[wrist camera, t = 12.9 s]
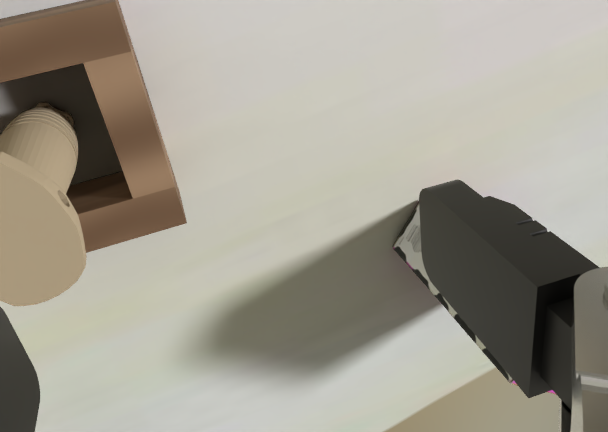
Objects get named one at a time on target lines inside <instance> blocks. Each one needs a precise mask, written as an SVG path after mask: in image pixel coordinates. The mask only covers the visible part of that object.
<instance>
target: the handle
mask: <svg viewBox="0 0 608 432" xmlns="http://www.w3.org/2000/svg"><path fill="white" fill-rule="evenodd" d="M77 159H78V140H77V135H76V132H75V129H74V120H73V118H72V116H71V115H70V114H69V113H68V112H63V111H60V110H57V109H55V108H53V107H52V106H51V105H49V103H48V102H41V103H39V104H37V106H36V107H35V108H32V109H29V110H27V111H24V112H22V113H21V114H19V115H18V116H17V117H15V118H14V119H13V120H12V121H11V122H10V123H9V124H8V125H7V127H6V128H5V129H4V131H3V132H2V134H1V135H0V301H3V302H5V303H8V304H10V305H13V306H27V305H34V304H38V303H41V302H44V301H47V300H50V299H52V298H54V297H56V296H58V295H60V294H61V293H63V292H64V291H66V290H67V289H69V288H70V287H71V286H72V285H73V284H74V283H75V282H76V281H77V280H78V279H79V277H80V276H81V274H82V272H83V270H84V268H85V266H86V250H85V243H84V238H83V233H82V229H81V224H80V221H79V217H78V214H77V212H76V211H75V209H74V207H73V205H72V203H71V202H70V200H69V198H68V197H67V195H66V193H67V190H68V188H69V185H70V183H71V180H72V178H73V175H74V173H75V169H76V165H77Z"/></svg>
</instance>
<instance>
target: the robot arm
mask: <svg viewBox="0 0 608 432" xmlns="http://www.w3.org/2000/svg"><path fill="white" fill-rule="evenodd" d="M419 210H420V231H421V252H422V260H423V264H424V268H425V270H426V273H427V275H428V277H429V279H430V281H431V282H432V284H433V285H434V286H435V288H436V289H437V290H438V291H439V292H440V293H441V295H442V296H443V297H444V298H445V299H446V301H447V302H448V303H449V304H450V305H451V307H452V308H453V309H454V310H455V311H456V312H457V314H458V315H459V316H460V317H461V318H462V320H463V321H464V322H465V323H466V324H467V326H468V327H469V328H470V329H471V330H472V331H473V333H474V334H475V335H476V336H477V337H478V339H479V340H480V341H481V342H482V343H483V345H484V346H485V347H486V348H487V349H488V350H489V352H490V353H491V354H492V355H493V356H494V358H495V359H496V360H497V361H498V362H499V364H500V365H501V366H502V367H503V368H504V370H505V371H506V372H507V373H508V374H509V375H510V377H511V378H512V379H513V380H514V381H515V383H516V384H517V385H518V386H519V387H520V388H521V390H522V391H523V392H524V393H525V394H526V396H527V397H528V398H531V397H533V396H536V395H539V394H542V393H545V392H548V391H550V390H553V391H554V392H555V393H556V394H557V395H558V396H559V398H560V399H561V402H560V410H559V432H608V267H602V268H599V267H598V266H597V265H595V264H594V263H593V262H591V261H590V260H589V259H587V258H586V257H584V256H583V255H582V254H580V253H579V252H578V251H576V250H575V249H574V248H572V247H571V246H570V245H568V244H567V243H565V242H564V241H563V240H561V239H560V238H559V237H557V236H556V235H555V234H553V233H552V232H551V231H550V232H547V229H546V228H545V227H544V226H542V225H541V224H540V223H538V222H537V221H536V220H535V221H533V220H532V218H531V217H530V216H529V215H527V214H526V213H525V212H523V211H522V210H521V209H519V208H518V207H517V206H515V205H513V204H511V203H508V202H505V201H502V200H499V199H496V198H493V197H491V196H488V197H485V198H483V197H482V196H481V195H479V194H478V193H477V192H475V191H474V190H473V189H472V188H470V187H469V186H468V185H466V184H465V183H464V182H462V181H461V180H454V181H450V182H447V183H443V184H439V185H436V186H432V187H428V188H425V189H422V191H421V192H420V196H419ZM39 403H40V388H39V382H38V377H37V374H36V371H35V369H34V366H33V364H32V363H31V361H30V359H29V357H28V355H27V353H26V351H25V349H24V347H23V346H22V344H21V342H20V340H19V338H18V336H17V334H16V332H15V330H14V329H13V327H12V325H11V323H10V321H9V319H8V317H7V315H6V314H5V312H4V311H3V309H2V308H1V307H0V432H35V426H36V420H37V415H38V409H39Z"/></svg>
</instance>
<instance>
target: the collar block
mask: <svg viewBox="0 0 608 432" xmlns="http://www.w3.org/2000/svg"><path fill="white" fill-rule="evenodd" d="M81 63H83V64H84V67H85V69H86V72H87V75H88V78H89V80H90V83H91V86H92V89H93V91H94V94H95V97H96V99H97V102H98V105H99V108H100V110H101V113H102V116H103V118H104V121H105V124H106V127H107V129H108V132H109V135H110V138H111V140H112V143H113V146H114V148H115V151H116V154H117V157H118V159H119V162H120V165H121V167H122V170H123V171H122V172H118V173H115V174H111V175H107V176H104V177H100V178H96V179H93V180H89V181H85V182H82V183H78V184H74V185H71V186H69V188H68V190H67V193H66V195H67V197H68V198H69V200H70V202H71V203H72V205H73V207H74V209H75V211H76V212H77V214H78V217H79V221H80V224H81V229H82V233H83V238H84V243H85V250H86V253H87V252H90V251H94V250H97V249H100V248H104V247H107V246H110V245H114V244H117V243H121V242H124V241H127V240H131V239H134V238H138V237H141V236H144V235H148V234H151V233H155V232H158V231H161V230H165V229H168V228H171V227H175V226H178V225H182V224H185V223H187V222H186V218H185V214H184V209H183V205H182V201H181V197H180V192H179V189H178V186H177V183H176V180H175V177H174V173H173V170H172V167H171V164H170V161H169V158H168V155H167V152H166V149H165V145H164V142H163V139H162V136H161V133H160V130H159V127H158V124H157V120H156V117H155V114H154V111H153V108H152V105H151V102H150V99H149V95H148V92H147V89H146V86H145V83H144V80H143V77H142V74H141V70H140V67H139V64H138V61H137V58H136V55H135V52H134V49H133V45H132V42H131V39H130V36H129V33H128V30H127V27H126V24H125V20H124V17H123V14H122V11H121V8H120V5H119V2H118V0H85V1H80V2H76V3H71V4H66V5H62V6H57V7H53V8H48V9H44V10H39V11H35V12H30V13H26V14H21V15H17V16H12V17H7V18H3V19H0V83H1V82H6V81H10V80H14V79H18V78H22V77H27V76H31V75H35V74H39V73H43V72H48V71H52V70H56V69H60V68H64V67H68V66H73V65H77V64H81Z"/></svg>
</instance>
